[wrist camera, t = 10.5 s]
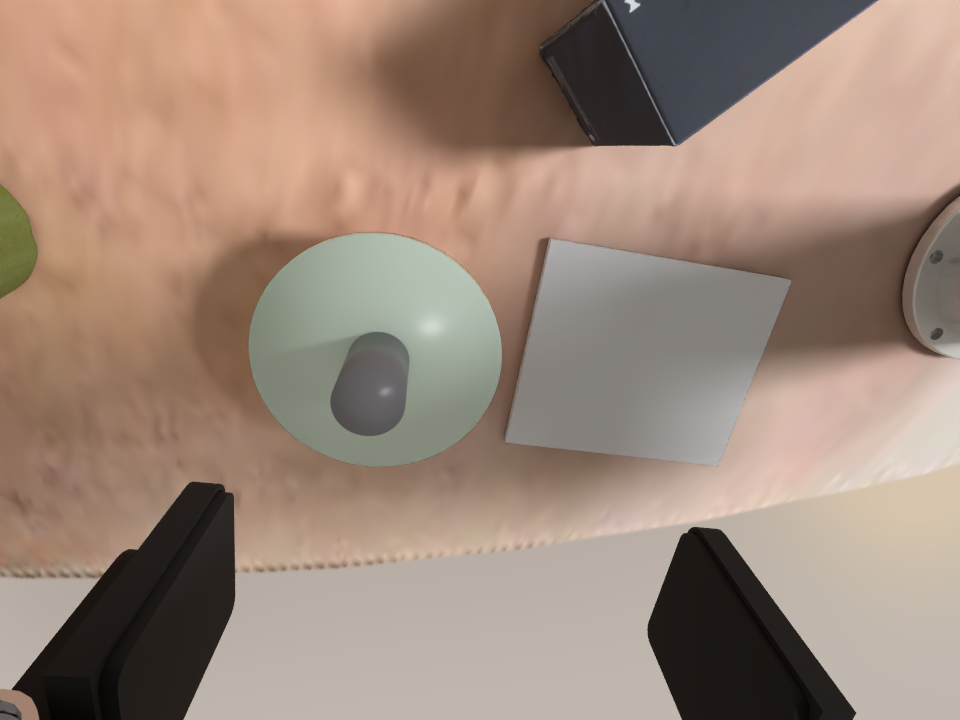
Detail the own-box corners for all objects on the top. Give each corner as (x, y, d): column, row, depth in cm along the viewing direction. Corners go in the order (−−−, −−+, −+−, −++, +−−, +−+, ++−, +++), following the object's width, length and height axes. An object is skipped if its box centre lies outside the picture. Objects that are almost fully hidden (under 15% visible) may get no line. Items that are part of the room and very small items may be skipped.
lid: (522, 254, 27) (545, 280, 21) (477, 469, 31) (487, 536, 26) (256, 210, 25) (208, 227, 19) (250, 446, 29) (210, 513, 24)
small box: (595, 156, 30) (675, 158, 20) (534, 48, 28) (590, -7, 18) (759, 34, 28) (930, -26, 19) (708, -90, 26) (874, -233, 16)
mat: (786, 278, 34) (792, 280, 33) (713, 461, 39) (717, 466, 38) (549, 237, 31) (551, 238, 31) (504, 438, 36) (505, 442, 36)
